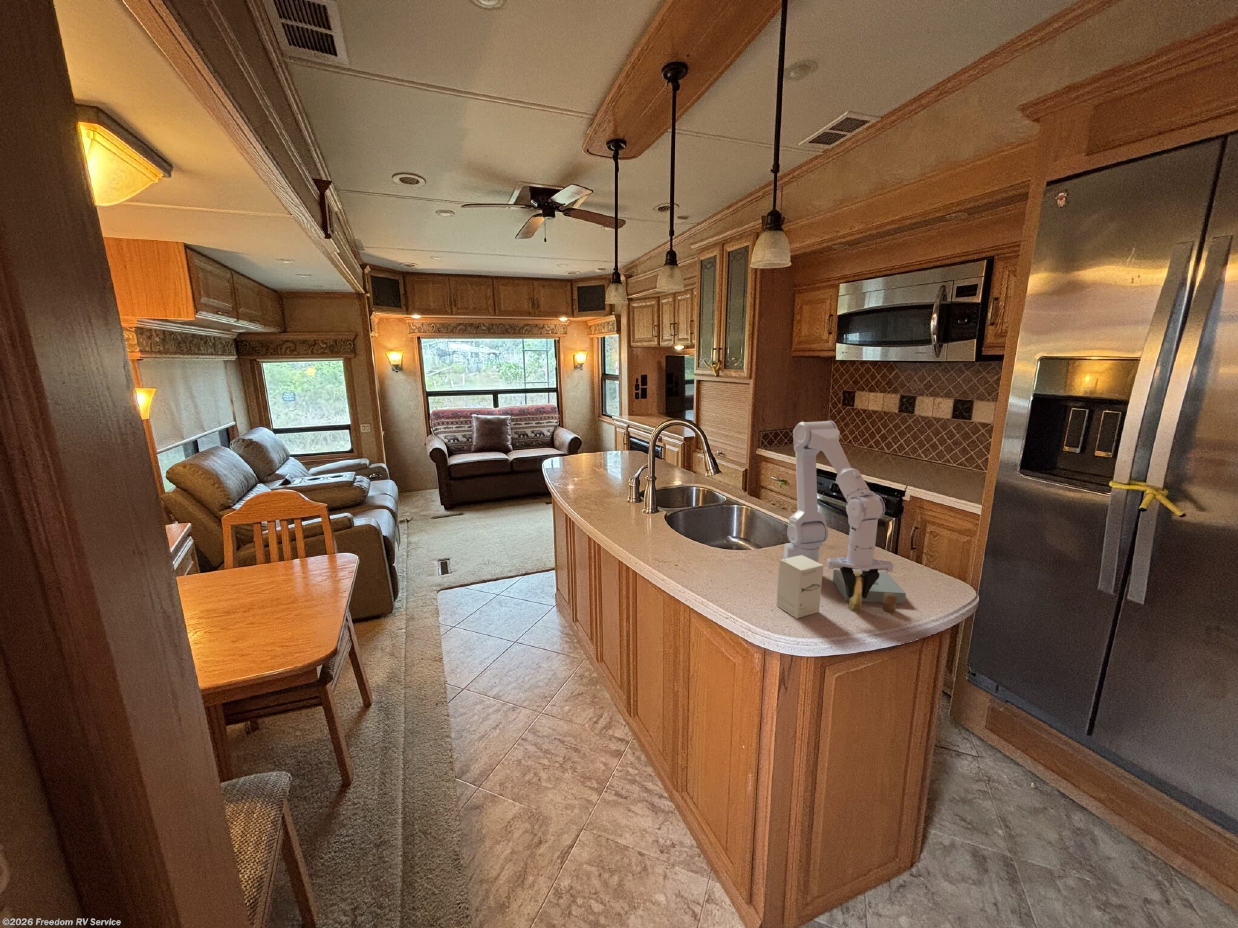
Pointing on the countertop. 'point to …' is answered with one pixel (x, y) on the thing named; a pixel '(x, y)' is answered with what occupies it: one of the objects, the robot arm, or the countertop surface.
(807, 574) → the supplement box
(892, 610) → the short pin
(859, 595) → the long pin
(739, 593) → the countertop surface
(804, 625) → the countertop surface
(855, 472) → the robot arm
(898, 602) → the hole plate
